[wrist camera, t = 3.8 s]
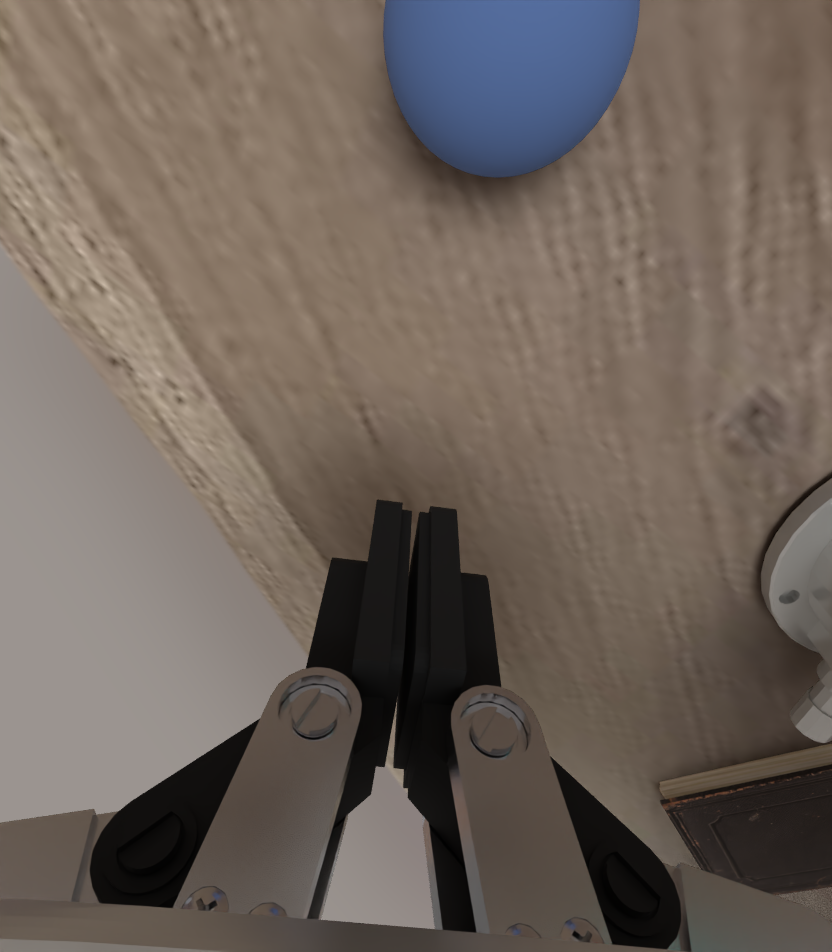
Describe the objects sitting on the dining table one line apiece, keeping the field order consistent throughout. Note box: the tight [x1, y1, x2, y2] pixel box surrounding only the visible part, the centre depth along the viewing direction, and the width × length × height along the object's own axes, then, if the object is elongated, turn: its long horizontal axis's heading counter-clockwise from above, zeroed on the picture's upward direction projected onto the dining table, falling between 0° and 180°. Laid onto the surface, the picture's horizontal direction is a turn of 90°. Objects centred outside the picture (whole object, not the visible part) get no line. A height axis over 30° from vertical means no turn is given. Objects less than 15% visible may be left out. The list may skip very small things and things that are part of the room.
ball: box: [383, 0, 640, 178], centre depth 13 cm, size 6×6×6 cm
